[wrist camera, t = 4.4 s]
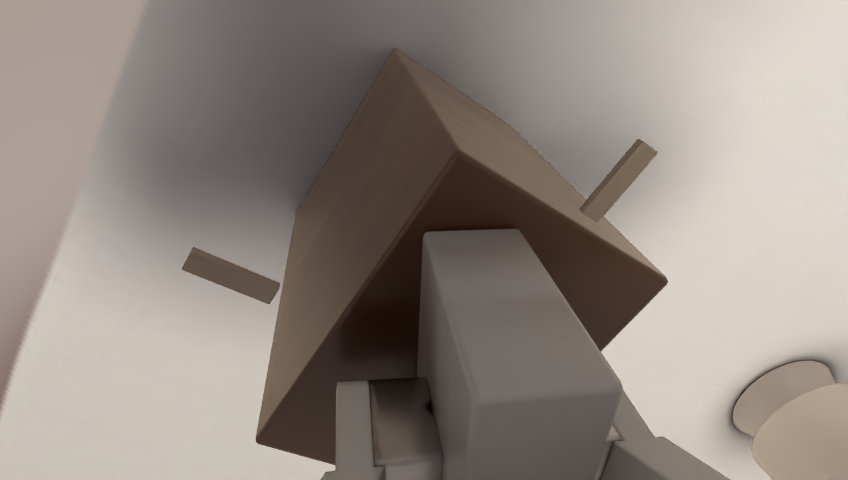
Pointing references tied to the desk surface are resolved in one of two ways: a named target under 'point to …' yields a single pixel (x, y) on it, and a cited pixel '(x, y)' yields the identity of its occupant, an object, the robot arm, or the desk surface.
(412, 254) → the base
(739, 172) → the desk surface
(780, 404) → the beige grooved canister
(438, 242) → the tap handle
